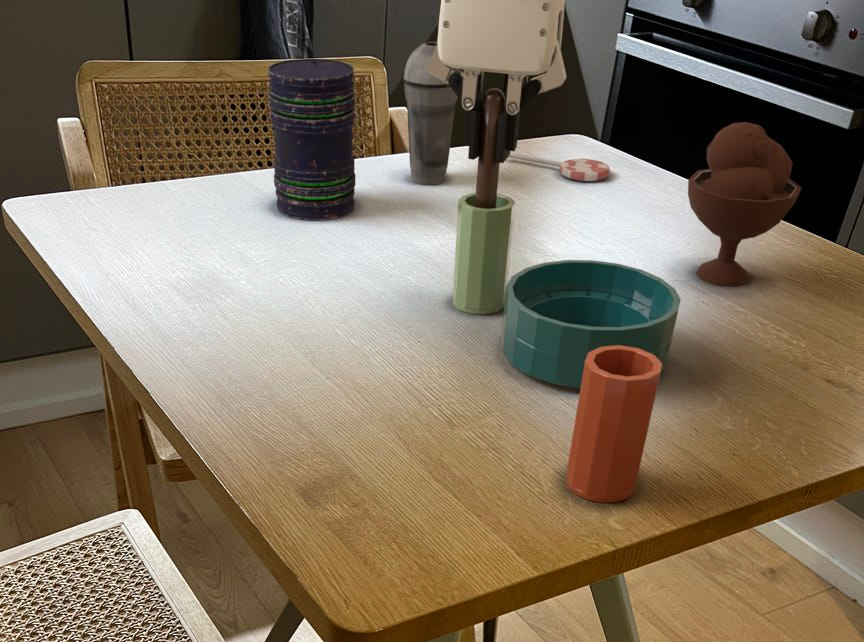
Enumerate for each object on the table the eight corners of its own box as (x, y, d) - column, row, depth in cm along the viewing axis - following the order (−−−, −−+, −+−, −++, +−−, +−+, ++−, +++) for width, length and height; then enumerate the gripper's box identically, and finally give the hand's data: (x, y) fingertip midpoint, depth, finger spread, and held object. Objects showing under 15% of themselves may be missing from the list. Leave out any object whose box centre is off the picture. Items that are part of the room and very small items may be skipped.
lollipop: (517, 144, 135) (618, 163, 129) (516, 152, 136) (616, 171, 130) (495, 156, 131) (598, 176, 125) (494, 164, 132) (597, 185, 126)
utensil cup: (638, 472, 75) (665, 351, 69) (629, 508, 72) (657, 384, 65) (572, 460, 76) (592, 340, 70) (560, 495, 73) (580, 372, 66)
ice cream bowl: (739, 305, 99) (782, 146, 89) (649, 273, 105) (679, 120, 95) (794, 278, 104) (839, 125, 94) (705, 249, 110) (739, 102, 100)
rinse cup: (509, 297, 100) (519, 195, 93) (497, 317, 96) (507, 213, 89) (460, 290, 101) (467, 189, 94) (447, 310, 97) (453, 206, 90)
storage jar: (352, 222, 115) (350, 80, 105) (270, 219, 115) (260, 78, 105) (359, 194, 122) (358, 59, 112) (281, 191, 123) (274, 57, 113)
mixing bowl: (673, 334, 94) (687, 272, 90) (655, 407, 83) (670, 341, 79) (520, 311, 97) (526, 251, 93) (483, 379, 86) (488, 314, 82)
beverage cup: (405, 168, 130) (409, -8, 117) (458, 172, 129) (469, -5, 116) (396, 186, 125) (399, 3, 111) (452, 189, 124) (462, 6, 111)
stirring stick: (489, 296, 98) (508, 86, 86) (485, 304, 97) (503, 92, 84) (470, 293, 99) (486, 84, 86) (465, 301, 97) (481, 90, 85)
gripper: (617, -93, 77) (581, 155, 90) (427, -103, 81) (418, 136, 93) (602, -82, 72) (567, 179, 85) (400, -94, 76) (394, 159, 88)
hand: (489, 155), depth 89 cm, fingers closed on stirring stick, 2 cm apart
